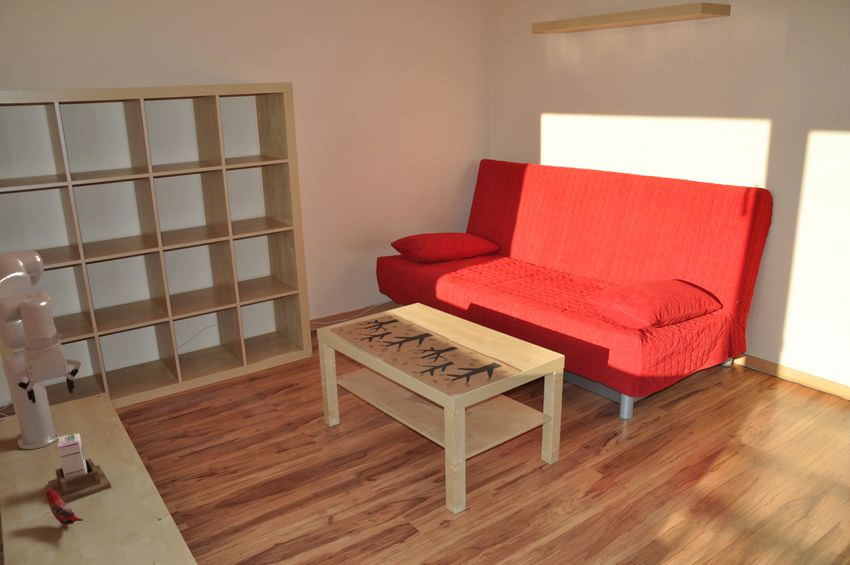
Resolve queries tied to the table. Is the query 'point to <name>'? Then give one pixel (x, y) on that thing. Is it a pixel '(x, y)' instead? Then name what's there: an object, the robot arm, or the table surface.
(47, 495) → the decorative bird figurine
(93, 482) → the stand
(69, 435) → the syrup box
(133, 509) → the table surface
